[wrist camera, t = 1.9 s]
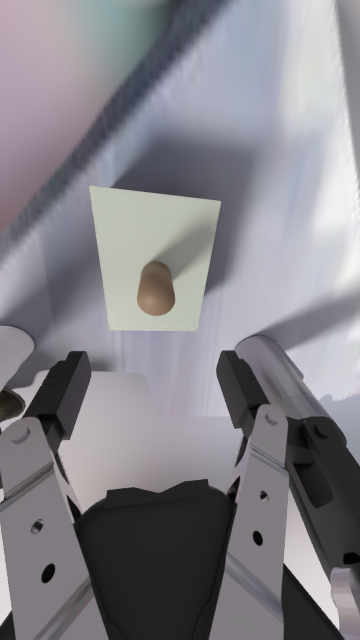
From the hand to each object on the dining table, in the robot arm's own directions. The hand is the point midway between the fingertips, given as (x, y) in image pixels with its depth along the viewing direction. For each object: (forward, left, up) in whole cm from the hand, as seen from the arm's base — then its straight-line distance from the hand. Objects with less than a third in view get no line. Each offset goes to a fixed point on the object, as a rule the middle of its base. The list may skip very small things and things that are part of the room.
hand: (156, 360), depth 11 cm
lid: (0, 0, -14) cm, 14 cm away
